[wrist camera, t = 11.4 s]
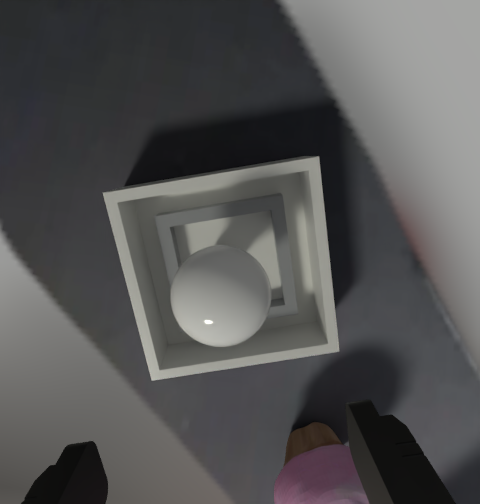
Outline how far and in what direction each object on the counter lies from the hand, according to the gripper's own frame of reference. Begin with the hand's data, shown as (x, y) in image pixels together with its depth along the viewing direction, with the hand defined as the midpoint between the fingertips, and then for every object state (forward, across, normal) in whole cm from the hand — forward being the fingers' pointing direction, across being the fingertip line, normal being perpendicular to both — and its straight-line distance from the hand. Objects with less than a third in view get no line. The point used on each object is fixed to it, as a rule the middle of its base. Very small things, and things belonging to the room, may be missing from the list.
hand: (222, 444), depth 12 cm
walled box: (+21, 0, 0) cm, 21 cm away
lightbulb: (+20, 0, 0) cm, 20 cm away
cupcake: (+21, -5, +20) cm, 30 cm away
